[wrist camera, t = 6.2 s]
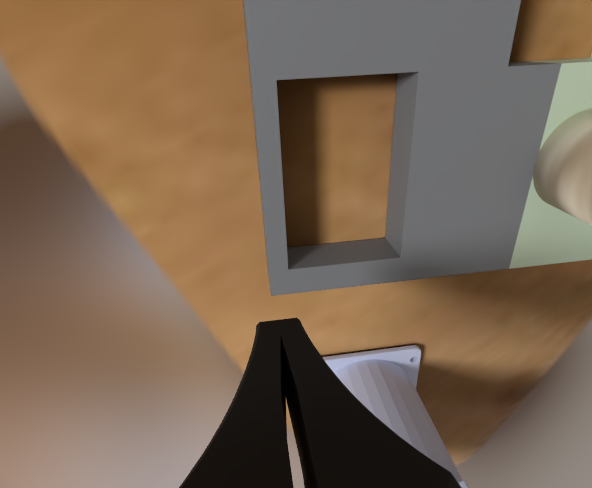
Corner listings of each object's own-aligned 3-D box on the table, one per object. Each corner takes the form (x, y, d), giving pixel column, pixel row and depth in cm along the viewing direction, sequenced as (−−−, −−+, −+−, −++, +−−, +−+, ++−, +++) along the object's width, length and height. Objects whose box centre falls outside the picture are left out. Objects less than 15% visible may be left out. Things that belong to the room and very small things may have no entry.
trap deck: (580, 238, 24) (632, 267, 21) (268, 272, 22) (272, 309, 19) (702, -115, 16) (815, -155, 13) (232, -111, 14) (231, -155, 11)
